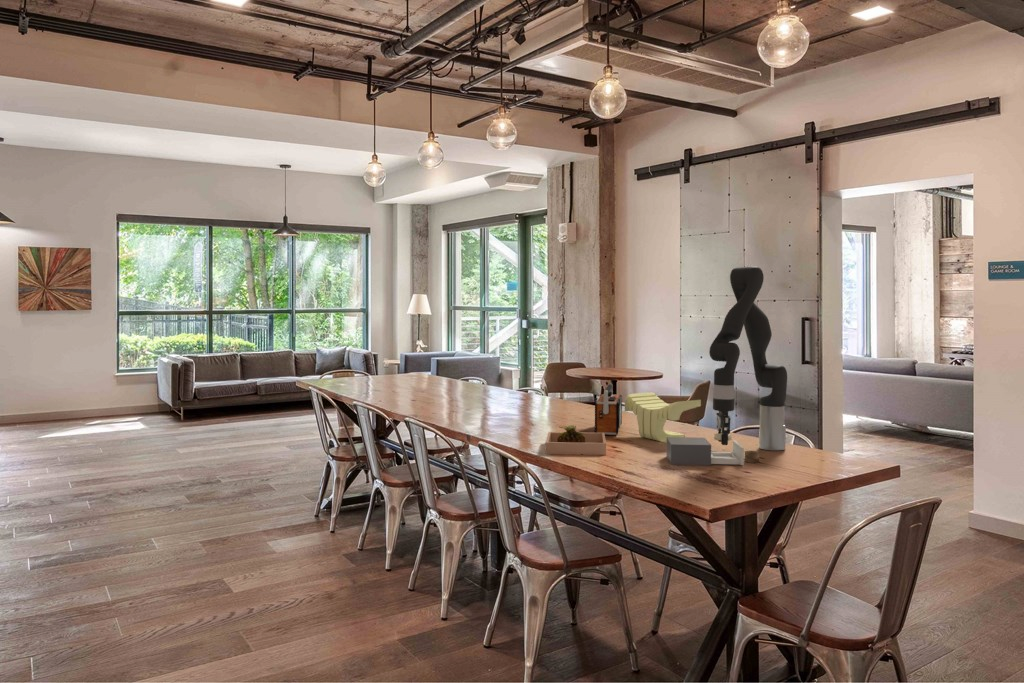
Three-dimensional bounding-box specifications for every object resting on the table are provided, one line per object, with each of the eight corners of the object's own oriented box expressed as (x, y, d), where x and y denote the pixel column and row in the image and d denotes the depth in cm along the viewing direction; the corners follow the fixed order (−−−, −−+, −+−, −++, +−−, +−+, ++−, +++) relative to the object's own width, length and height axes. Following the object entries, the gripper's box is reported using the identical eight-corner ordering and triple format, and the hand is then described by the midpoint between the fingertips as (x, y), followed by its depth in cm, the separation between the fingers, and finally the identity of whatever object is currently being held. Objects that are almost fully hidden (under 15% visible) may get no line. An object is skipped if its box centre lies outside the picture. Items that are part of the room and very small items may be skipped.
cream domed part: (729, 438, 275) (729, 433, 275) (733, 440, 269) (733, 436, 269) (713, 437, 276) (713, 433, 276) (715, 440, 270) (716, 436, 270)
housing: (705, 457, 281) (705, 437, 280) (711, 465, 266) (711, 445, 266) (666, 456, 282) (666, 437, 281) (670, 464, 268) (671, 444, 267)
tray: (735, 457, 279) (735, 440, 279) (743, 465, 265) (743, 447, 265) (697, 456, 281) (697, 440, 280) (703, 464, 267) (703, 447, 266)
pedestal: (757, 460, 275) (757, 450, 275) (760, 463, 270) (760, 453, 270) (743, 459, 276) (743, 450, 275) (746, 462, 271) (746, 453, 270)
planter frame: (604, 443, 308) (604, 432, 308) (606, 454, 285) (606, 443, 285) (548, 442, 310) (548, 432, 310) (545, 453, 287) (545, 442, 287)
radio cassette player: (618, 437, 323) (618, 391, 322) (593, 436, 325) (594, 390, 324) (621, 426, 352) (622, 383, 350) (599, 425, 354) (599, 383, 353)
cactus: (556, 444, 308) (556, 420, 308) (594, 446, 303) (594, 422, 303) (544, 452, 292) (544, 427, 291) (584, 454, 287) (584, 429, 286)
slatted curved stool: (624, 434, 328) (624, 394, 327) (652, 431, 336) (653, 392, 335) (670, 446, 302) (671, 402, 301) (700, 442, 310) (700, 399, 309)
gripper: (738, 399, 264) (737, 447, 265) (730, 395, 278) (729, 439, 279) (716, 399, 265) (715, 446, 266) (709, 394, 279) (709, 439, 280)
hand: (722, 443), depth 272 cm, fingers closed on cream domed part, 6 cm apart
